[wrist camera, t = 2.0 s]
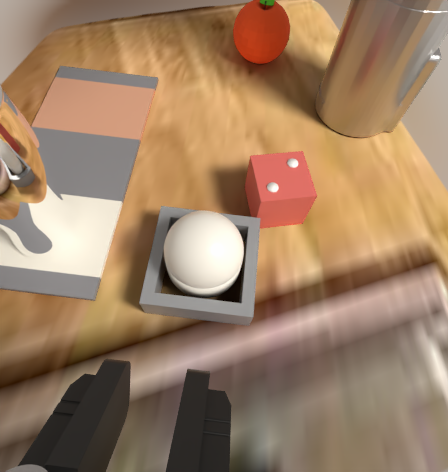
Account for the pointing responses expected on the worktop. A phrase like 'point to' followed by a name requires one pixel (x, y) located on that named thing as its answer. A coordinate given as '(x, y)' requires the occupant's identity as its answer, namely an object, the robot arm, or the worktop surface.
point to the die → (279, 188)
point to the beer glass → (31, 191)
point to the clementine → (261, 31)
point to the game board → (83, 174)
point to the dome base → (201, 307)
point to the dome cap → (203, 254)
